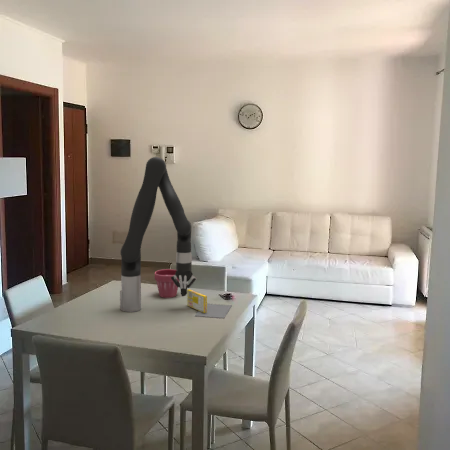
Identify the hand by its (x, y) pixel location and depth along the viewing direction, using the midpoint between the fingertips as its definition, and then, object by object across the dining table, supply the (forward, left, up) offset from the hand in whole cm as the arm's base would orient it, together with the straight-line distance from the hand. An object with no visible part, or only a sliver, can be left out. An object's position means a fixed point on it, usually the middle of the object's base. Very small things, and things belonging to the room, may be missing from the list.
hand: (183, 295), depth 246 cm
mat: (+15, 0, -6) cm, 16 cm away
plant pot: (-14, +20, -7) cm, 26 cm away
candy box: (+7, 0, -6) cm, 9 cm away
